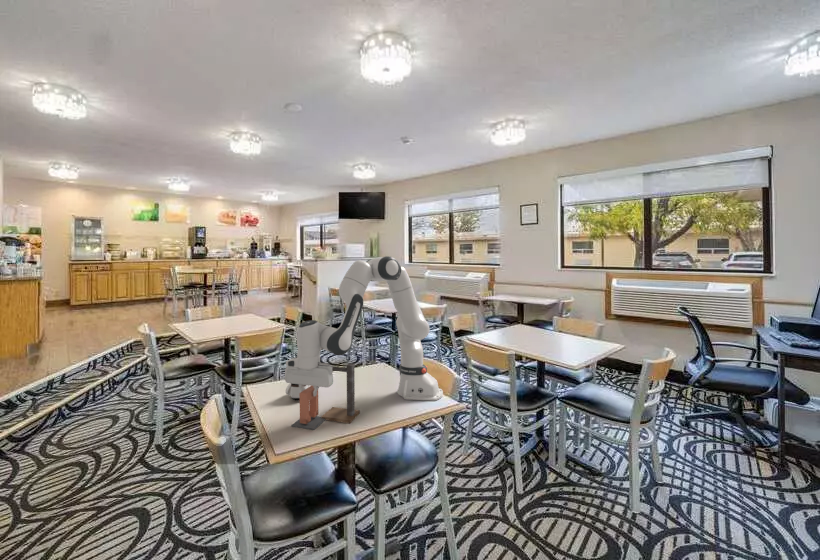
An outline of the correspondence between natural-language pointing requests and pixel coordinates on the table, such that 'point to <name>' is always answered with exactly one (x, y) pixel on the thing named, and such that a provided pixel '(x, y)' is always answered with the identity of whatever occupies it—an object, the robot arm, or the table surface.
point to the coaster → (311, 425)
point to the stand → (350, 412)
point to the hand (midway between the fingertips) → (309, 395)
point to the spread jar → (294, 391)
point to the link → (308, 405)
